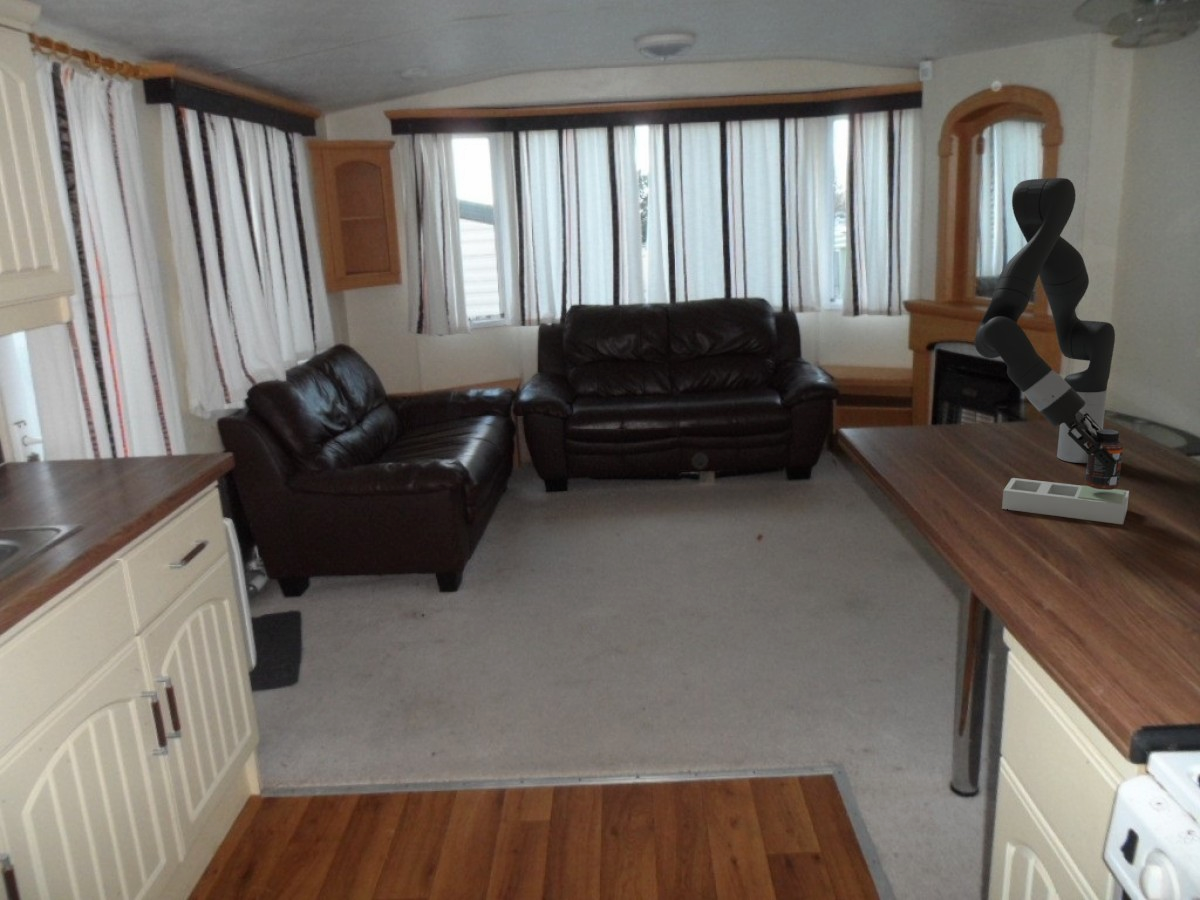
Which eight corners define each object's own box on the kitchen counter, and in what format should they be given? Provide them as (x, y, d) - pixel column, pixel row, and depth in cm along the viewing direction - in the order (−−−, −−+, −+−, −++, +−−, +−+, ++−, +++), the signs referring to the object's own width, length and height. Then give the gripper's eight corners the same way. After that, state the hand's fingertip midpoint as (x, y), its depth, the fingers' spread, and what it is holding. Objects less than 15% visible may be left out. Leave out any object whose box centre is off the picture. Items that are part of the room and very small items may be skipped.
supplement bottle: (1122, 491, 185) (1129, 435, 182) (1089, 490, 186) (1095, 434, 183) (1113, 482, 190) (1119, 427, 187) (1081, 481, 191) (1086, 427, 188)
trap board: (1010, 495, 203) (1012, 476, 202) (1127, 509, 191) (1129, 489, 190) (1001, 508, 194) (1003, 488, 193) (1123, 524, 183) (1125, 503, 182)
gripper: (1064, 392, 181) (1128, 459, 178) (1074, 379, 193) (1134, 442, 190) (1032, 417, 185) (1094, 482, 182) (1043, 402, 197) (1101, 464, 194)
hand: (1114, 461), depth 186 cm, fingers closed on supplement bottle, 6 cm apart
